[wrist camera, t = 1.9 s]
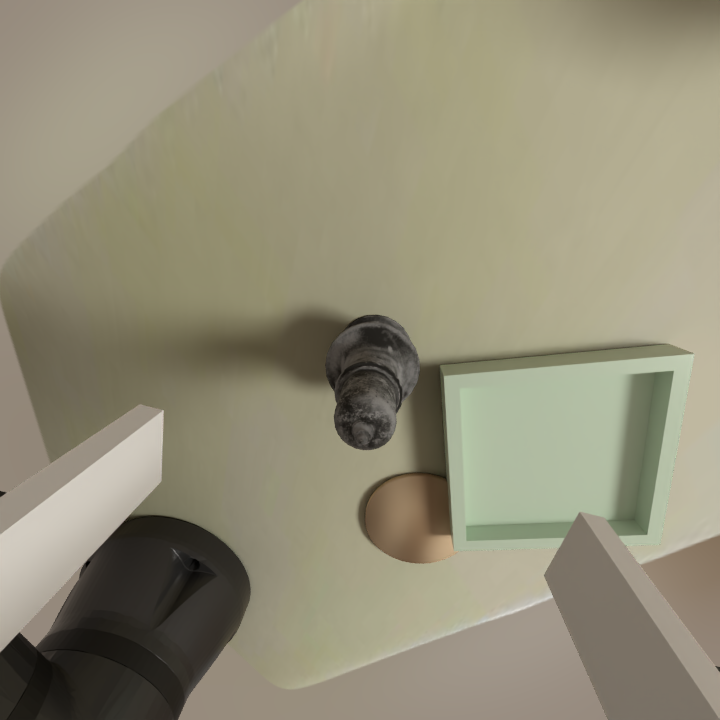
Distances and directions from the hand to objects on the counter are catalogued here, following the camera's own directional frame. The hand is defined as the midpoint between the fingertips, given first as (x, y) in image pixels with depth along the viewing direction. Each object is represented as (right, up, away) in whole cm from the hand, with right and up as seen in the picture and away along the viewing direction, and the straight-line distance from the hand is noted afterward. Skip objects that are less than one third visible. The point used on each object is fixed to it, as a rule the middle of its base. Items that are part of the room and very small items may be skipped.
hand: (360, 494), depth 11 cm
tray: (+14, -2, +16) cm, 21 cm away
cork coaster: (+5, -9, +19) cm, 21 cm away
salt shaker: (+1, +5, +14) cm, 15 cm away
